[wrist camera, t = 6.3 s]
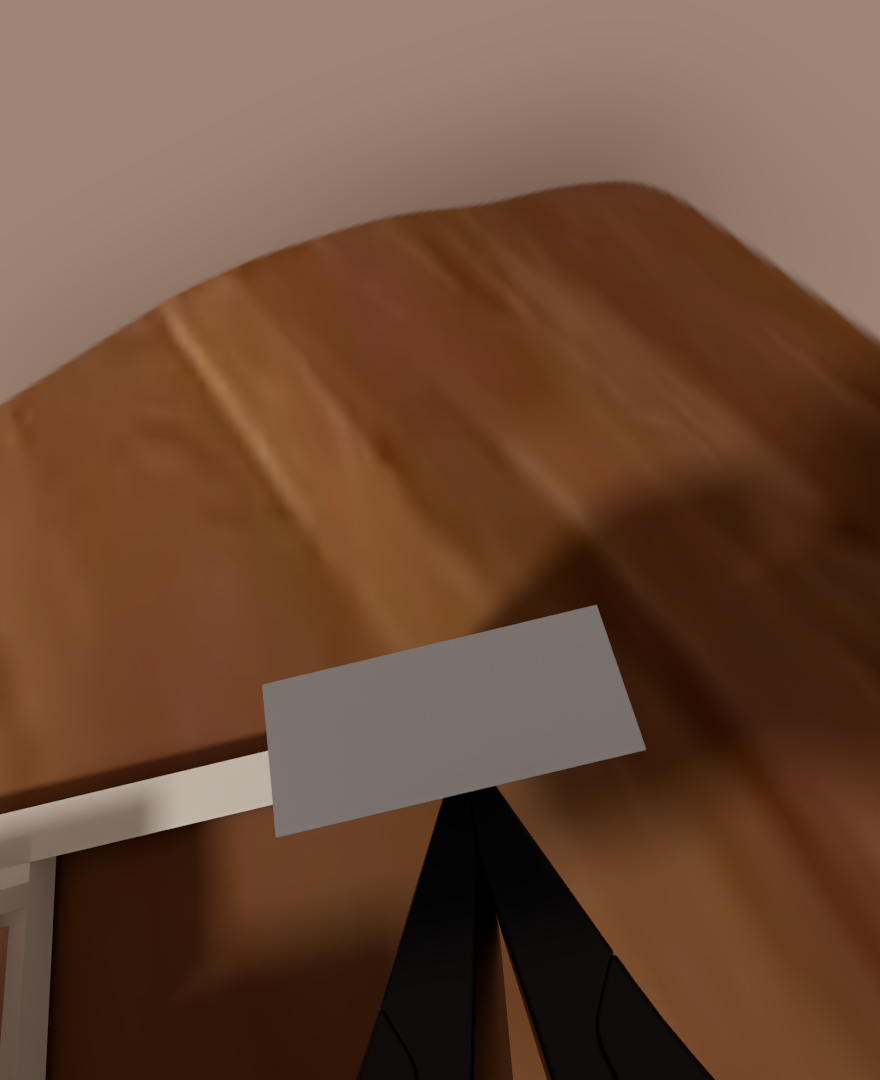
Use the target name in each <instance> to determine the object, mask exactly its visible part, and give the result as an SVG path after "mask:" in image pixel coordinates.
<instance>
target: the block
mask: <svg viewBox="0 0 880 1080" xmlns="http://www.w3.org/2000/svg"><path fill="white" fill-rule="evenodd" d="M8 934H9V926H7V927H2V928H0V1041H1V1028H2V1014H3V1001H4V987H5V974H6V961H7V947H8Z"/></svg>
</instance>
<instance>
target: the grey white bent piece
mask: <svg viewBox="0 0 880 1080" xmlns="http://www.w3.org/2000/svg"><path fill="white" fill-rule="evenodd" d="M262 688H263V699H264V710H265V721H266V733H267V744H268V751H265V752H261V753H256V754H252V755H248V756H244V757H240V758H235V759H231V760H227V761H223V762H219V763H214V764H210V765H206V766H202V767H198V768H193V769H189V770H185V771H181V772H177V773H172V774H168V775H164V776H160V777H156V778H151V779H147V780H143V781H139V782H135V783H130V784H126V785H122V786H118V787H114V788H109V789H105V790H101V791H97V792H93V793H88V794H84V795H80V796H76V797H72V798H67V799H63V800H59V801H55V802H51V803H46V804H42V805H38V806H34V807H30V808H25V809H21V810H17V811H13V812H9V813H4V814H0V928H2V927H7V926H9V934H8V947H7V961H6V974H5V987H4V1001H3V1014H2V1028H1V1041H0V1080H45V1075H46V1055H47V1034H48V1014H49V993H50V973H51V952H52V932H53V911H54V891H55V870H56V856H58V855H62V854H67V853H71V852H75V851H79V850H84V849H88V848H92V847H96V846H100V845H105V844H109V843H113V842H117V841H121V840H126V839H130V838H134V837H138V836H143V835H147V834H151V833H155V832H159V831H164V830H168V829H172V828H176V827H180V826H185V825H189V824H193V823H197V822H201V821H206V820H210V819H214V818H218V817H223V816H227V815H231V814H235V813H239V812H244V811H248V810H252V809H256V808H260V807H265V806H269V805H273V811H274V822H275V833H276V837H281V836H285V835H289V834H293V833H298V832H302V831H306V830H310V829H314V828H319V827H323V826H327V825H331V824H336V823H340V822H344V821H348V820H352V819H357V818H361V817H365V816H369V815H374V814H378V813H382V812H386V811H390V810H395V809H399V808H403V807H407V806H412V805H416V804H420V803H424V802H428V801H433V800H437V799H441V798H445V797H450V796H454V795H458V794H462V793H466V792H471V791H475V790H479V789H483V788H488V787H492V786H496V785H500V784H504V783H509V782H513V781H517V780H521V779H526V778H530V777H534V776H538V775H542V774H547V773H551V772H555V771H559V770H564V769H568V768H572V767H576V766H580V765H585V764H589V763H593V762H597V761H602V760H606V759H610V758H614V757H618V756H623V755H627V754H631V753H635V752H640V751H644V750H646V747H645V744H644V741H643V738H642V735H641V733H640V730H639V727H638V724H637V721H636V718H635V715H634V712H633V709H632V706H631V703H630V700H629V697H628V695H627V692H626V689H625V686H624V683H623V680H622V677H621V674H620V671H619V668H618V665H617V662H616V659H615V657H614V654H613V651H612V648H611V645H610V642H609V639H608V636H607V633H606V630H605V627H604V624H603V621H602V619H601V616H600V613H599V610H598V607H597V605H593V606H589V607H585V608H581V609H577V610H573V611H568V612H564V613H560V614H556V615H552V616H548V617H543V618H539V619H535V620H531V621H527V622H522V623H518V624H514V625H510V626H506V627H502V628H497V629H493V630H489V631H485V632H481V633H476V634H472V635H468V636H464V637H460V638H456V639H451V640H447V641H443V642H439V643H435V644H430V645H426V646H422V647H418V648H414V649H410V650H405V651H401V652H397V653H393V654H389V655H385V656H380V657H376V658H372V659H368V660H364V661H359V662H355V663H351V664H347V665H343V666H339V667H334V668H330V669H326V670H322V671H318V672H313V673H309V674H305V675H301V676H297V677H293V678H288V679H284V680H280V681H276V682H272V683H267V684H263V685H262Z"/></svg>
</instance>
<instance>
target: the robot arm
mask: <svg viewBox="0 0 880 1080" xmlns="http://www.w3.org/2000/svg"><path fill="white" fill-rule="evenodd" d="M497 918H498V919H497ZM498 921H499V925H500V928H501V932H502V935H503V938H504V942H505V945H506V948H507V952H508V955H509V958H510V961H511V965H512V968H513V971H514V974H515V977H516V981H517V984H518V987H519V990H520V994H521V997H522V1000H523V1003H524V1007H525V1010H526V1013H527V1016H528V1020H529V1023H530V1026H531V1029H532V1032H533V1036H534V1039H535V1042H536V1045H537V1049H538V1052H539V1055H540V1058H541V1062H542V1065H543V1068H544V1071H545V1075H546V1078H547V1080H715V1079H714V1078H713V1077H712V1076H711V1075H710V1073H709V1072H708V1071H707V1070H706V1069H705V1068H704V1067H703V1065H702V1064H701V1063H700V1062H699V1061H698V1060H697V1059H696V1057H695V1056H694V1055H693V1054H692V1053H691V1051H690V1050H689V1049H688V1048H687V1047H686V1045H685V1044H684V1043H683V1042H682V1041H681V1039H680V1038H679V1037H678V1036H677V1034H676V1033H675V1032H674V1031H673V1030H672V1028H671V1027H670V1026H669V1025H668V1024H667V1022H666V1021H665V1020H664V1019H663V1018H662V1016H661V1015H660V1014H659V1012H658V1011H657V1010H656V1008H655V1007H654V1006H653V1004H652V1003H651V1002H650V1000H649V999H648V998H647V996H646V995H645V994H644V992H643V991H642V990H641V988H640V987H639V986H638V984H637V983H636V982H635V980H634V979H633V978H632V976H631V975H630V973H629V972H628V971H627V969H626V968H625V966H624V965H623V964H622V962H621V961H620V959H619V958H618V957H617V956H616V955H613V950H612V949H611V947H610V946H609V944H608V943H607V942H606V940H605V939H604V937H603V936H602V935H601V933H600V932H599V930H598V929H597V928H596V926H595V925H594V923H593V922H592V921H591V919H590V918H589V916H588V915H587V914H586V912H585V911H584V909H583V908H582V906H581V905H580V904H579V902H578V901H577V899H576V898H575V897H574V895H573V894H572V892H571V891H570V890H569V888H568V887H567V885H566V884H565V883H564V881H563V880H562V878H561V877H560V876H559V874H558V873H557V871H556V870H555V868H554V867H553V866H552V864H551V863H550V861H549V860H548V859H547V857H546V856H545V854H544V853H543V852H542V850H541V849H540V847H539V846H538V845H537V843H536V842H535V840H534V839H533V838H532V836H531V835H530V833H529V832H528V831H527V829H526V828H525V826H524V825H523V823H522V822H521V821H520V819H519V818H518V816H517V815H516V814H515V812H514V811H513V809H512V808H511V807H510V805H509V804H508V802H507V801H506V800H505V798H504V797H503V795H502V794H501V793H500V791H499V790H498V788H497V787H496V786H492V787H488V788H483V789H479V790H475V791H471V792H466V793H462V794H458V795H454V796H450V797H445V798H443V800H442V803H441V807H440V810H439V813H438V816H437V820H436V823H435V826H434V829H433V833H432V836H431V839H430V843H429V846H428V849H427V852H426V856H425V859H424V862H423V865H422V869H421V872H420V875H419V879H418V882H417V885H416V888H415V892H414V895H413V898H412V901H411V905H410V908H409V911H408V915H407V918H406V921H405V924H404V928H403V931H402V934H401V937H400V941H399V944H398V947H397V951H396V954H395V957H394V960H393V964H392V967H391V970H390V973H389V977H388V980H387V983H386V987H385V990H384V993H383V996H382V1000H381V1003H380V1007H381V1009H382V1010H379V1011H378V1012H377V1015H376V1018H375V1022H374V1025H373V1028H372V1032H371V1035H370V1038H369V1041H368V1044H367V1047H366V1051H365V1054H364V1057H363V1060H362V1063H361V1066H360V1069H359V1072H358V1075H357V1078H356V1080H513V1075H512V1064H511V1053H510V1042H509V1031H508V1020H507V1009H506V998H505V987H504V976H503V965H502V954H501V943H500V934H499V925H498Z"/></svg>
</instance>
